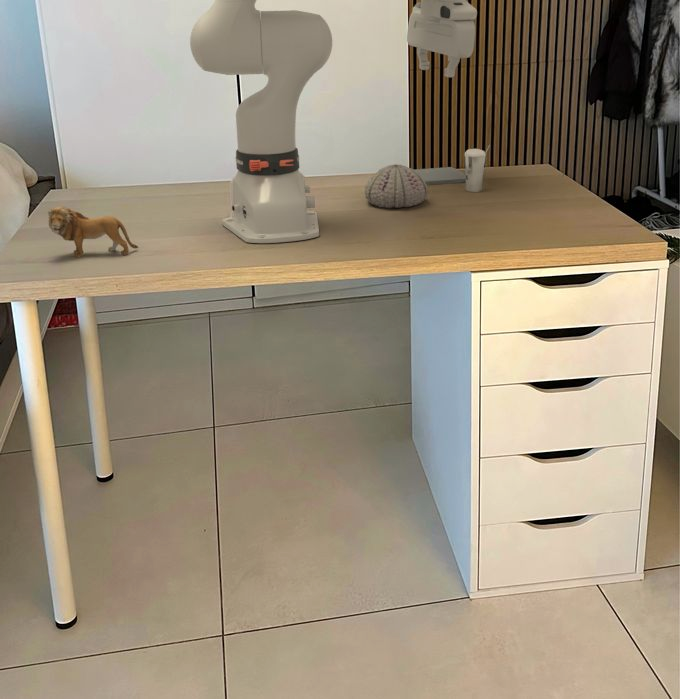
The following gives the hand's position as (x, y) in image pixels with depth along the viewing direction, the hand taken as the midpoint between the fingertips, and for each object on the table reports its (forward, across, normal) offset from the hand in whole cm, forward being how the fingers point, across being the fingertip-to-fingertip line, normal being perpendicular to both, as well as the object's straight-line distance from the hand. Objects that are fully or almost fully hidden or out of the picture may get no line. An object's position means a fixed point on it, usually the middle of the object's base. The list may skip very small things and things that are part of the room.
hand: (436, 73), depth 201 cm
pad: (+24, 0, +2) cm, 24 cm away
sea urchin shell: (+23, +14, -19) cm, 33 cm away
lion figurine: (+24, +16, -84) cm, 88 cm away
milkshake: (+23, +15, +2) cm, 28 cm away
